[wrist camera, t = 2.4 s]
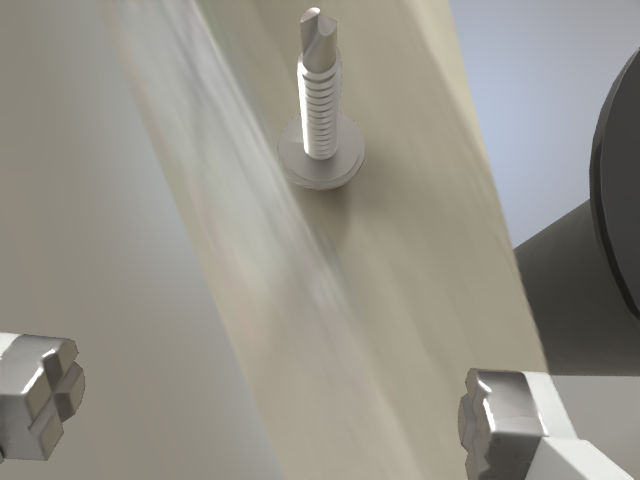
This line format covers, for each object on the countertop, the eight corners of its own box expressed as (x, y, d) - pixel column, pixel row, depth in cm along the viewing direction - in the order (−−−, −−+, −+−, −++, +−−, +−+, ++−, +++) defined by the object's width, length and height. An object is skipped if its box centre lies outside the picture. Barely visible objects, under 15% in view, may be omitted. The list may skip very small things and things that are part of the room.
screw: (365, 198, 30) (282, 203, 30) (359, 122, 31) (279, 127, 31) (395, 70, 17) (251, 79, 17) (381, -49, 18) (247, -40, 18)
